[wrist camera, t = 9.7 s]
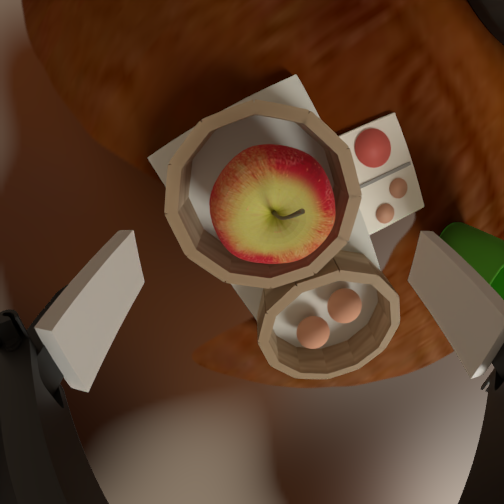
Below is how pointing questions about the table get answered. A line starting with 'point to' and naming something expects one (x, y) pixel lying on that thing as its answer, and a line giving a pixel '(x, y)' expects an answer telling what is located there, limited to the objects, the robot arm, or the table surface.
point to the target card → (383, 172)
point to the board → (290, 134)
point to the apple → (272, 204)
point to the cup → (478, 252)
